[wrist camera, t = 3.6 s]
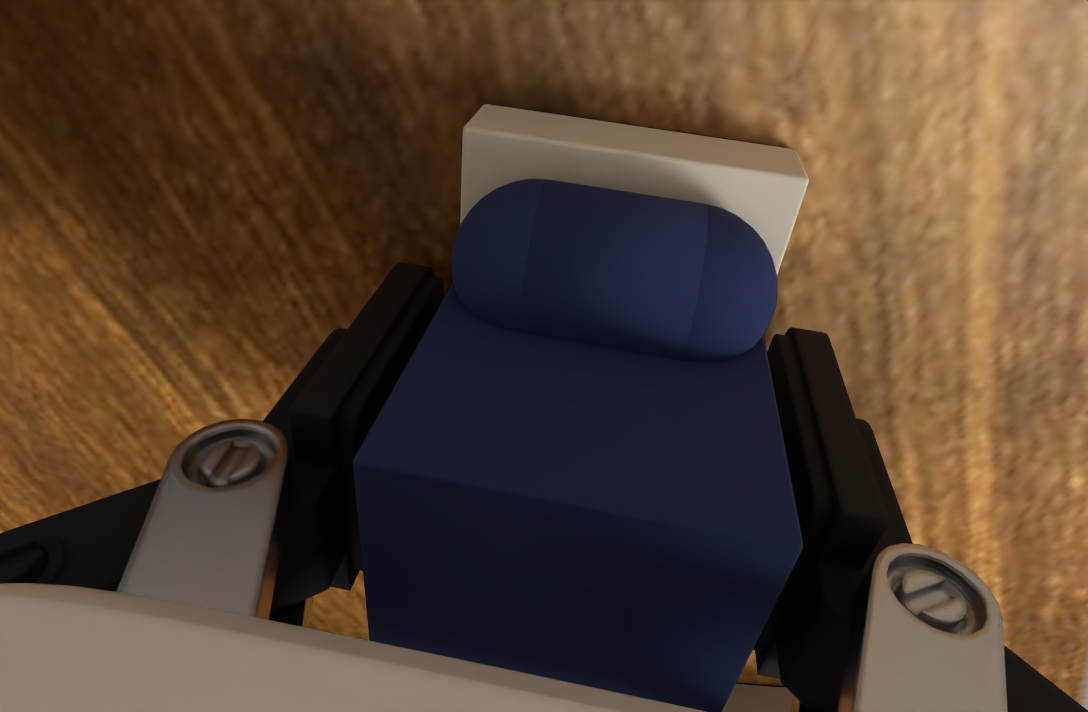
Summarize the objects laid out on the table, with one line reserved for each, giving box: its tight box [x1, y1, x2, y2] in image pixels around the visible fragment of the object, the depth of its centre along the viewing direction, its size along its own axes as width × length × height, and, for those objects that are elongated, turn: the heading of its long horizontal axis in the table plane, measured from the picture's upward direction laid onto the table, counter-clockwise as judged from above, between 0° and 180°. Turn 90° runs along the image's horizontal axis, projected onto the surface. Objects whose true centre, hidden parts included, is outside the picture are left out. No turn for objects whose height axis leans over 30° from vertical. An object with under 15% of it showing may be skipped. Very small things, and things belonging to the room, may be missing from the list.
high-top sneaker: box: [353, 104, 809, 712], centre depth 10 cm, size 8×4×6 cm, turn 174°
